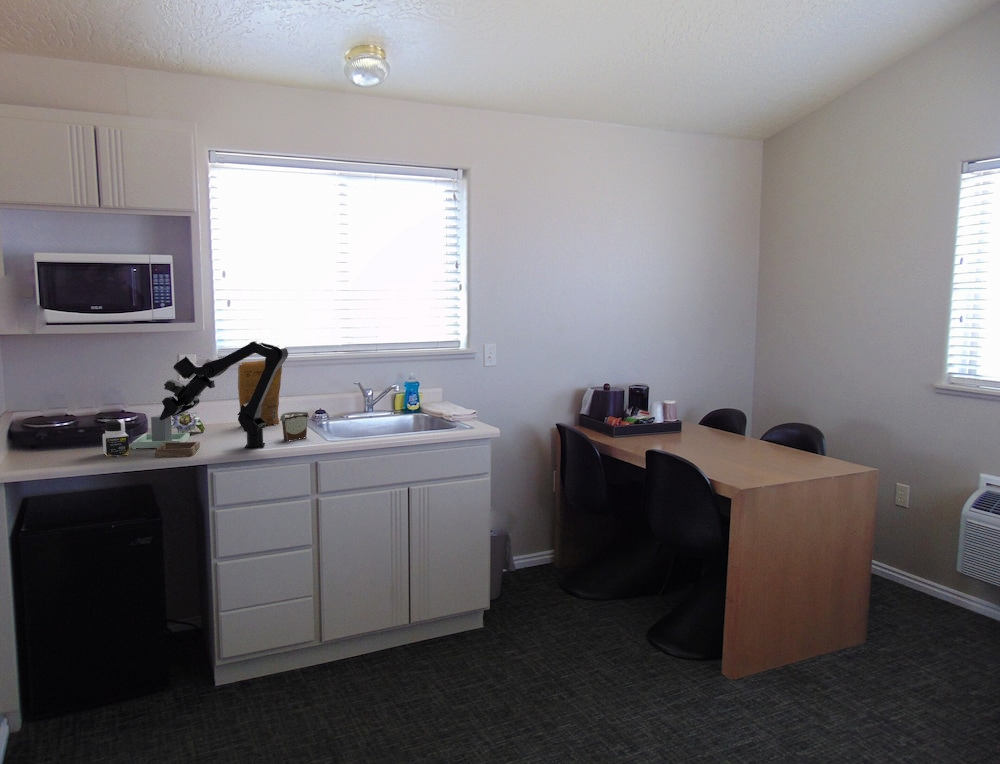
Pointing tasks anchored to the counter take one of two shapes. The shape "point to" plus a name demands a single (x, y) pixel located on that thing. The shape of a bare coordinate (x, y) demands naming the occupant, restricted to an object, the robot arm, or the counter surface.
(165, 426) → the grey peg
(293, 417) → the food container
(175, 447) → the walnut collar
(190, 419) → the passion flower
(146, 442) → the mint green tray
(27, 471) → the counter surface
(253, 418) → the robot arm
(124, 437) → the medicine bottle
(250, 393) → the pancake mix bag
